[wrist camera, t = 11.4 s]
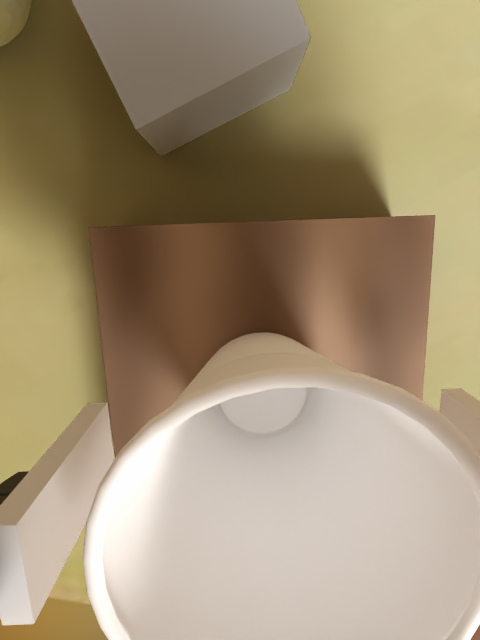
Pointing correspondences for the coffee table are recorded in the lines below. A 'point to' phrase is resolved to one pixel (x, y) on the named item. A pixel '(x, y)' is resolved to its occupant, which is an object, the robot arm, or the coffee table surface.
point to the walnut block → (257, 300)
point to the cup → (288, 510)
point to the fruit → (12, 18)
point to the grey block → (194, 60)
